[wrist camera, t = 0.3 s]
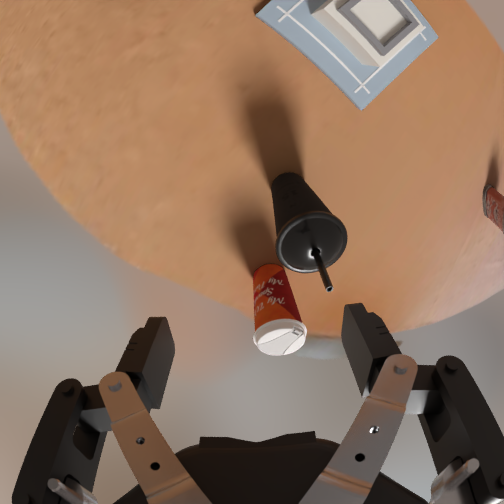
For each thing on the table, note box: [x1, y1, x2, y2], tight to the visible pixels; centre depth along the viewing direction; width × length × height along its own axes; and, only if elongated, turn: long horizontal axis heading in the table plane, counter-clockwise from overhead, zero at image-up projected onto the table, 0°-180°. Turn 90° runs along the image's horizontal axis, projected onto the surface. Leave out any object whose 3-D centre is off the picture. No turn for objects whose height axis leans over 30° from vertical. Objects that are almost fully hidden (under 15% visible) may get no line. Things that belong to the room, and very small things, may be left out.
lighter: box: [483, 184, 504, 234], centre depth 40 cm, size 8×3×10 cm, turn 33°
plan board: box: [256, 0, 438, 110], centre depth 23 cm, size 18×18×7 cm
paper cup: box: [253, 264, 307, 355], centre depth 45 cm, size 8×8×14 cm
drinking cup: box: [272, 173, 347, 292], centre depth 32 cm, size 8×8×20 cm
